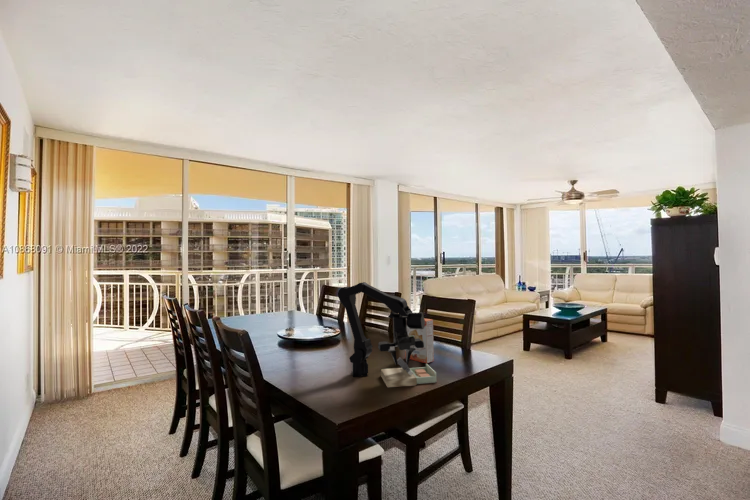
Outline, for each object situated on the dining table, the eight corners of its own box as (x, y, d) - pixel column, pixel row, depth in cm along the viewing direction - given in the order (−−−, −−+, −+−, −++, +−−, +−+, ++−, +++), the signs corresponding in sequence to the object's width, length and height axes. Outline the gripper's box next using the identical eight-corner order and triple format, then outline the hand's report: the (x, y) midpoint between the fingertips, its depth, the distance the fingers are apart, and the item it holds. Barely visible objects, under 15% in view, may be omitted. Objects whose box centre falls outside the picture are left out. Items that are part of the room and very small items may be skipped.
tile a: (430, 376, 156) (430, 380, 156) (427, 373, 160) (427, 377, 160) (421, 377, 155) (421, 380, 155) (418, 374, 159) (418, 377, 159)
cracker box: (404, 358, 190) (404, 317, 190) (412, 356, 194) (411, 315, 194) (426, 364, 180) (426, 320, 180) (434, 361, 184) (433, 319, 184)
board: (387, 387, 150) (387, 379, 150) (381, 376, 164) (381, 369, 164) (416, 385, 152) (416, 377, 152) (407, 374, 166) (407, 367, 166)
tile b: (426, 371, 162) (426, 375, 162) (423, 369, 166) (423, 372, 166) (417, 372, 161) (417, 376, 161) (414, 369, 165) (414, 373, 165)
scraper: (409, 376, 154) (399, 365, 153) (403, 368, 165) (393, 358, 164) (414, 372, 154) (403, 361, 154) (407, 364, 165) (397, 354, 164)
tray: (416, 383, 153) (416, 374, 153) (408, 373, 166) (408, 364, 166) (436, 382, 155) (436, 372, 155) (427, 372, 168) (426, 363, 168)
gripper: (382, 334, 150) (384, 373, 150) (427, 330, 153) (428, 368, 153) (377, 328, 161) (378, 365, 160) (419, 325, 164) (420, 360, 164)
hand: (401, 365), depth 159 cm, fingers closed on scraper, 4 cm apart
